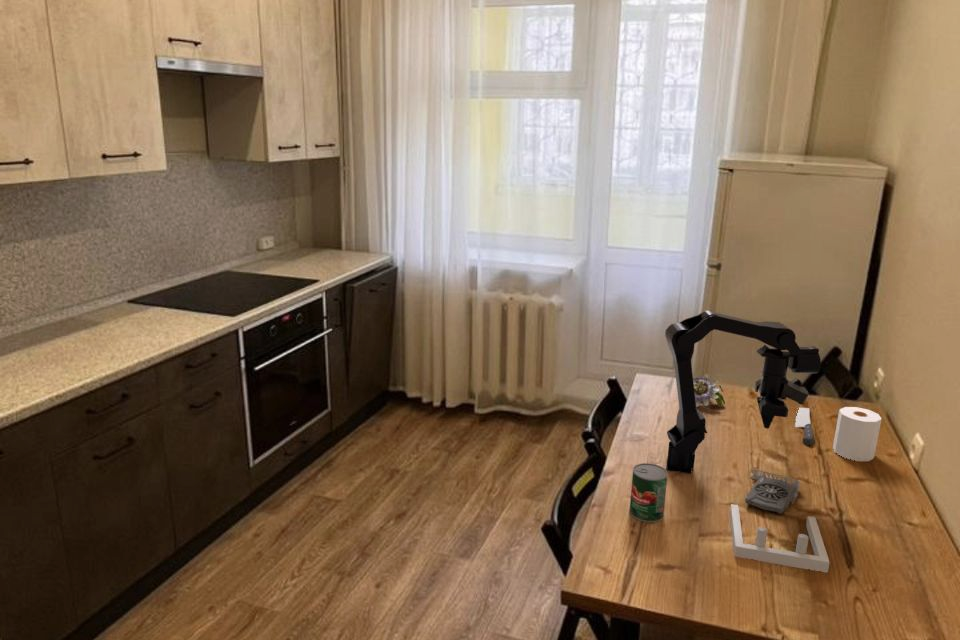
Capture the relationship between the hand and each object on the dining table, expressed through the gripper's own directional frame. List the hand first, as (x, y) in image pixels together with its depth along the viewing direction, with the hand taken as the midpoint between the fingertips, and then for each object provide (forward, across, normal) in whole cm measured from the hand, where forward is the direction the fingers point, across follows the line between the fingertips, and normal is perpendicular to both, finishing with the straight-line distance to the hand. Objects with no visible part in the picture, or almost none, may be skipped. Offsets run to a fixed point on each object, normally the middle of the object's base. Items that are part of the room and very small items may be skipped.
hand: (766, 427), depth 182 cm
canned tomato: (+12, -32, +28) cm, 44 cm away
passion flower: (+12, +42, +14) cm, 46 cm away
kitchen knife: (+12, +34, -15) cm, 39 cm away
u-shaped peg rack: (+12, -34, 0) cm, 36 cm away
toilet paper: (+12, +18, -26) cm, 34 cm away
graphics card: (+13, -15, 0) cm, 20 cm away
